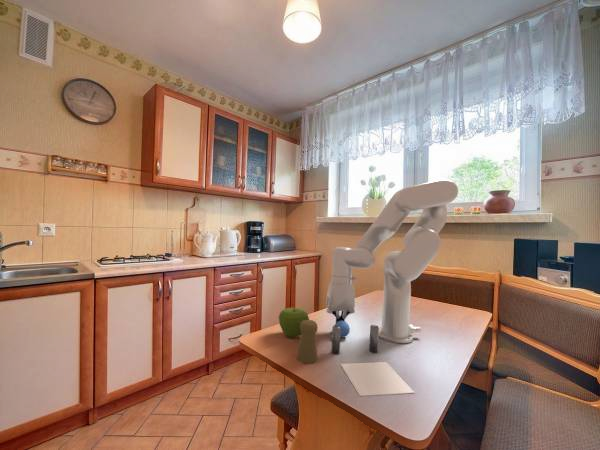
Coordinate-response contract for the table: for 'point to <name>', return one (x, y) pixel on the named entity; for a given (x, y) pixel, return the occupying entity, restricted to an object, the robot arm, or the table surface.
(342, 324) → the ball
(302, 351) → the olive pawn shape
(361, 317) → the table surface
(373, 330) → the post
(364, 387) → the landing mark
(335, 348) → the post
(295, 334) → the apple
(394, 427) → the table surface
